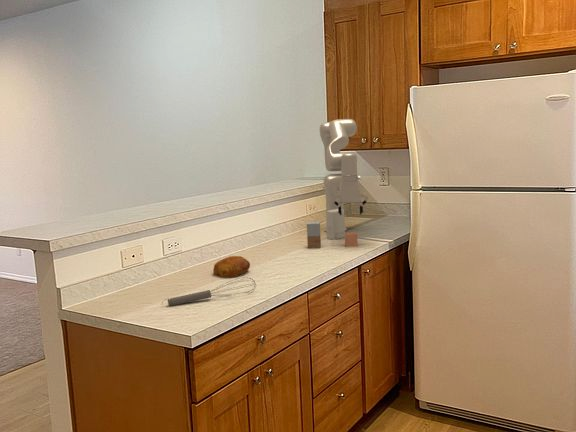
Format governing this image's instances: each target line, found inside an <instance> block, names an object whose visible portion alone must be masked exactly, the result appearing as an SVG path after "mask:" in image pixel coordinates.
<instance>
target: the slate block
mask: <svg viewBox="0 0 576 432" xmlns="http://www.w3.org/2000/svg"><path fill="white" fill-rule="evenodd" d="M306 236H320V237H321V221H307V223H306Z"/></svg>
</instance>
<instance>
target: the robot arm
mask: <svg viewBox="0 0 576 432" xmlns="http://www.w3.org/2000/svg"><path fill="white" fill-rule="evenodd" d="M357 130H358V128H357V123H356V121H355V120H354V119H352V118H339V119H334V120H331V121H325V122H323V123H321V124H320V126H319V135H320V140H321V142H322V144H323V148H324V151H323V152H324V163H325V165H324V166H325V170H326V171H328V172H340V173H329V174H327V175H324V178H323V188H324V193H325V210H326V211H330V210H334V209H338V214H339V213H340V215H342V213H341V210H344V204H355V203H356V204H357V203H358V204H359V214H360V216H361V215H362V213H364V212H363V211H364V206H365V204H367V202H368V200H369V196H367V195H365V194H363V193H362V192H361V186H360V181H359V180H361V176H360V175H358V156H357V154H356V153H355V152H349V151H348V152H341V150H343V149H344V148H346V147H347V146H348V145H349V142H350V141H349V140H350V139H349V138H350V137H353V136H355V135H356V134H357ZM362 198H363V199H364V200H363V201H362V200H361V199H362ZM326 211H325V212H326ZM347 230H348V229H347V227H346V226H345V232H346V231H347ZM323 231H324V232H326V233H327V227H325V228H324V229H323Z"/></svg>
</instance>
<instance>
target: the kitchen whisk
mask: <svg viewBox="0 0 576 432" xmlns="http://www.w3.org/2000/svg"><path fill="white" fill-rule="evenodd" d="M241 281H243V282H246V281H248V282H249V281H250V282H253V283H252V284H251V283H248V284H247V285H246V284H244V285H242V286H241V285H240V286H238V287H237V286H236V287H233V288H232V287H230V288H226V289H225V290H224V289H222V288H224V287H226V286H228V285H232V284H235V283H240V282H241ZM255 281H256V280H254V279H253V278H250V277H245V276H244V277H241V280H240V277H237V278H235V279H232V280H229V281H227V282H226V284H224V283H222V284H221V286H218V287H215V288H213V289H212V290H210V289H207V290H203V291H199V292H195V293H189V294H184V295H180V296H174V297H171V298H167V304H168V306H169V307H174V306H178V305H183V304H187V303H191V302H196V301H201V300H202V301H203V300H205V299H206V300H207V299H209V298H212V297H218V298H219V297H220V298H221V297H222V298H223V297H231V294H228V293H225V294H223V292H225V291H226V292H228V291H230V290H231V291H234V290H235V289H236V290H239V289H240V288H241V289H242V288H244V287H245V288H248V287H251V286H253V285H254V286H253V288H252V289H251V290H248V291H243V292H242V294H246V293H248V294H246V295H250V294H252V293H253V291H254V290H255V289H256V287H257V286H256V285H257V283H256V282H255ZM219 289H222V290H221V293H222V294H219V293H220V290H219ZM216 290H217V291H216ZM249 292H250V293H249ZM236 294H237V295H238V294H240V292H237V293H236V292H235V293H234V295H236ZM165 301H166V299H164V300H163V301H162V303H161V304H163V302H165Z"/></svg>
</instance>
